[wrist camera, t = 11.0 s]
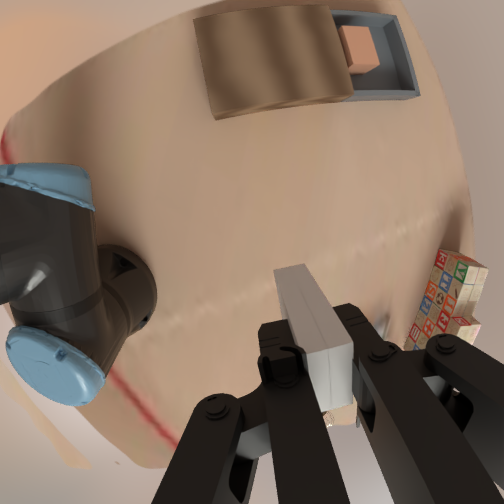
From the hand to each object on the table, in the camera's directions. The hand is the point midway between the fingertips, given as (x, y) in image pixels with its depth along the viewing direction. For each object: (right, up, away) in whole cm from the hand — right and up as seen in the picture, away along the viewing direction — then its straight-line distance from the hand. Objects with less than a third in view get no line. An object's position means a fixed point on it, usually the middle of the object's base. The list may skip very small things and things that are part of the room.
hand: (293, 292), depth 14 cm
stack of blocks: (+33, -8, +34) cm, 48 cm away
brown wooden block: (0, +28, +21) cm, 35 cm away
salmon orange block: (+10, +29, +17) cm, 36 cm away
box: (+15, +31, +21) cm, 41 cm away
